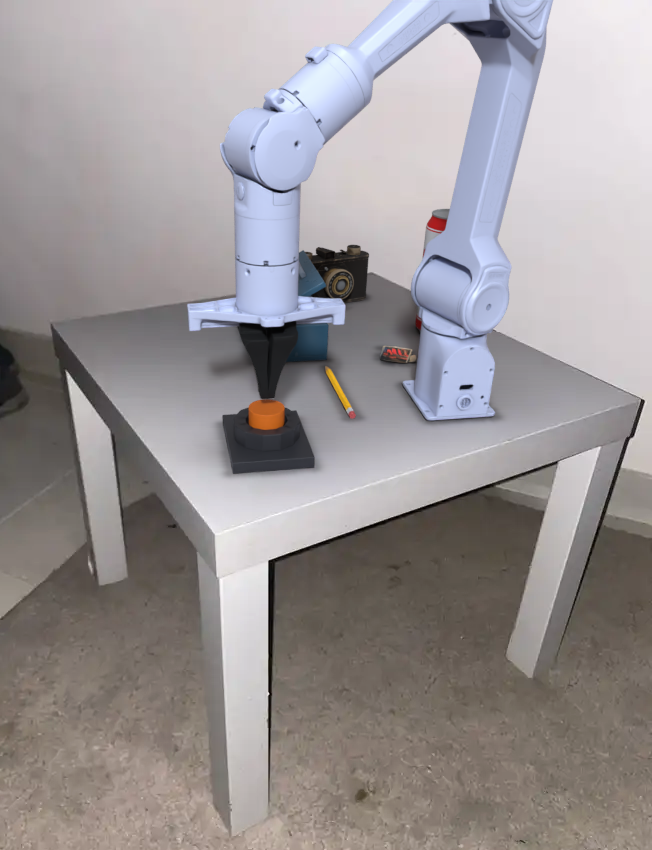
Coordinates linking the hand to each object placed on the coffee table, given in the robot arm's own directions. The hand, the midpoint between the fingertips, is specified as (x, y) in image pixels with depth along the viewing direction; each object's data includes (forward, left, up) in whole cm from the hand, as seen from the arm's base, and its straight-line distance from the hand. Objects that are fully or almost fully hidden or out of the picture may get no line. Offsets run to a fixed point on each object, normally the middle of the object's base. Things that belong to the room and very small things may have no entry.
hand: (266, 394), depth 76 cm
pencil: (+11, -10, -6) cm, 16 cm away
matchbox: (+20, -20, -6) cm, 29 cm away
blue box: (+27, -6, -6) cm, 28 cm away
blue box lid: (+27, -6, +1) cm, 28 cm away
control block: (0, 0, -6) cm, 6 cm away
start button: (0, 0, -3) cm, 3 cm away
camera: (+40, -14, -6) cm, 43 cm away
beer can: (+28, -28, -6) cm, 40 cm away
